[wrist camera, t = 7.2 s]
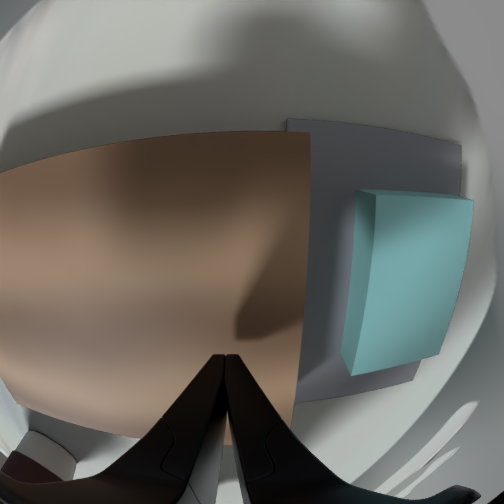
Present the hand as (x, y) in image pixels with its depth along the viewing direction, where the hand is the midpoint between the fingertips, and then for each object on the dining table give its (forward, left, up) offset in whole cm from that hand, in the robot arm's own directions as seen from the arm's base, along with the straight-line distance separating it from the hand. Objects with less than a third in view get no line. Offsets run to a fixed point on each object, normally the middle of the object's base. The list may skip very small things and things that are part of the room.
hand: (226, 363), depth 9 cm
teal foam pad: (+1, -9, -3) cm, 9 cm away
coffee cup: (-22, +23, -5) cm, 32 cm away
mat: (0, -8, -5) cm, 9 cm away
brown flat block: (0, +6, -5) cm, 8 cm away
